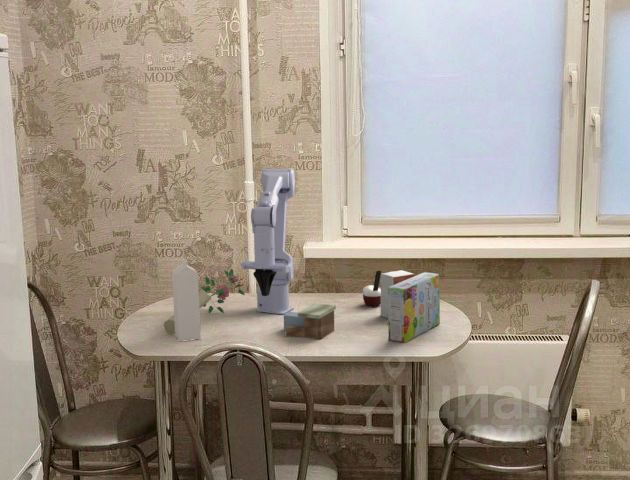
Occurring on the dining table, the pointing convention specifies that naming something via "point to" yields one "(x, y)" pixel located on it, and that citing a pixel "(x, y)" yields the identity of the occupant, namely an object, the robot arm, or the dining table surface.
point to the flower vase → (208, 298)
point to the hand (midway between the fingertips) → (265, 295)
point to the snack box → (413, 307)
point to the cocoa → (373, 292)
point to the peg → (293, 320)
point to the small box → (388, 281)
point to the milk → (186, 302)
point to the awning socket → (314, 322)
